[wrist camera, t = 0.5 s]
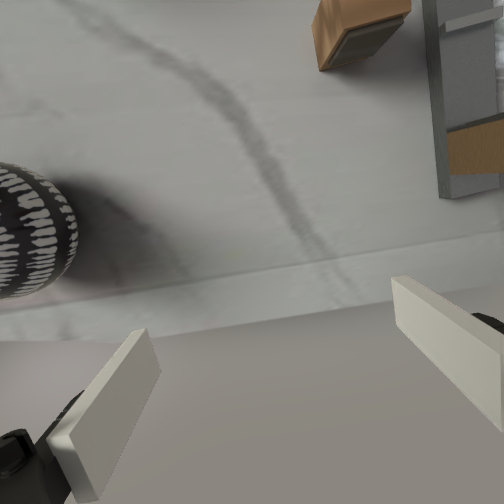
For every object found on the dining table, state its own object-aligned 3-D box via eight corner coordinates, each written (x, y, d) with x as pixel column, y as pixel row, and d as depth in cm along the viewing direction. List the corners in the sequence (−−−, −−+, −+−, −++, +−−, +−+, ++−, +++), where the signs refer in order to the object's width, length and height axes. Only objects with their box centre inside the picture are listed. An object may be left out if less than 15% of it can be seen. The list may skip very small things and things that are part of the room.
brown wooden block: (311, 25, 34) (334, -37, 24) (361, 11, 34) (405, -58, 24) (320, 76, 35) (345, 36, 26) (368, 63, 35) (412, 17, 25)
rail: (417, -57, 32) (516, -203, 20) (471, -73, 32) (606, -232, 19) (439, 197, 39) (523, 204, 26) (484, 187, 38) (591, 189, 26)
